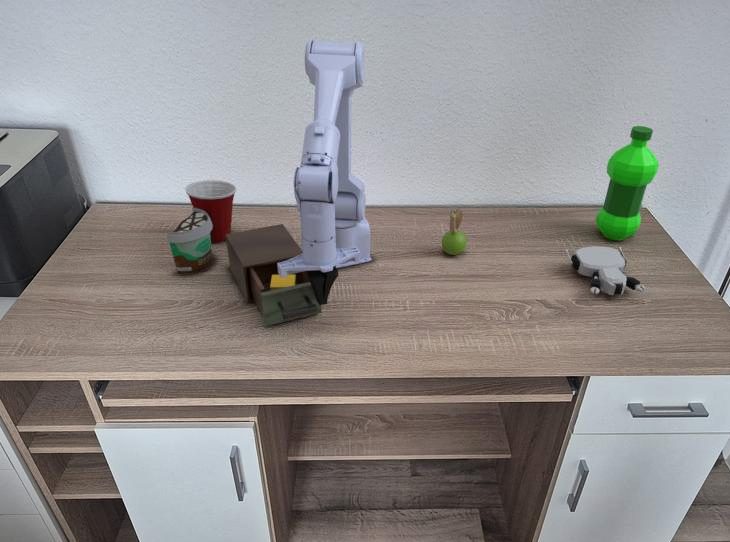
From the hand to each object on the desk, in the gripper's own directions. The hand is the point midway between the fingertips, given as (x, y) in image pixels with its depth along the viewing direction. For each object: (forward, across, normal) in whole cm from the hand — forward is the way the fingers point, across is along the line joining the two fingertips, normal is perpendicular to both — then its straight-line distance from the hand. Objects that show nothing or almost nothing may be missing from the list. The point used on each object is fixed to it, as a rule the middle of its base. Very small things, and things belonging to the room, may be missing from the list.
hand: (321, 301), depth 112 cm
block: (+3, -5, +7) cm, 9 cm away
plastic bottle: (+5, +75, +5) cm, 76 cm away
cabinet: (+4, -5, +18) cm, 20 cm away
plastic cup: (+5, -10, +40) cm, 42 cm away
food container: (+5, -16, +30) cm, 34 cm away
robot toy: (+5, +58, -10) cm, 59 cm away
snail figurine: (+5, +35, +12) cm, 38 cm away
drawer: (+4, -5, +6) cm, 9 cm away
